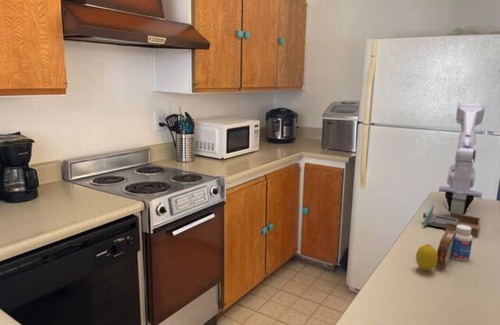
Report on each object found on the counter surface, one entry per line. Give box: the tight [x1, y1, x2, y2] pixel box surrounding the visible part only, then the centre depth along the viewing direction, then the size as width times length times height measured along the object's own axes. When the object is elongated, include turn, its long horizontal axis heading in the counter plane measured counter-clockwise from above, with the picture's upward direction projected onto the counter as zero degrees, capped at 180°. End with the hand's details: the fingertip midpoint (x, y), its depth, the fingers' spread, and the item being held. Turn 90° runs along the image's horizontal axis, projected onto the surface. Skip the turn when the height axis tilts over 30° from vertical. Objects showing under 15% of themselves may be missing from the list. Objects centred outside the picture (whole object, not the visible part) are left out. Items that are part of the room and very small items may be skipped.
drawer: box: [422, 204, 459, 229], centre depth 146 cm, size 15×11×4 cm
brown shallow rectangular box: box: [444, 213, 482, 239], centre depth 142 cm, size 13×10×3 cm
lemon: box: [415, 243, 438, 272], centre depth 110 cm, size 6×6×8 cm
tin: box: [436, 229, 456, 267], centre depth 116 cm, size 15×3×8 cm, turn 144°
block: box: [449, 198, 466, 216], centre depth 152 cm, size 4×4×7 cm
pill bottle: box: [450, 225, 474, 261], centre depth 119 cm, size 6×5×10 cm
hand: (456, 212), depth 152 cm, fingers closed on block, 4 cm apart
